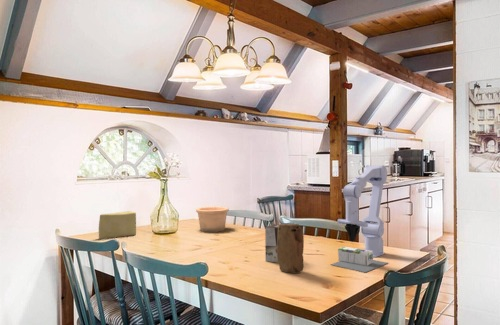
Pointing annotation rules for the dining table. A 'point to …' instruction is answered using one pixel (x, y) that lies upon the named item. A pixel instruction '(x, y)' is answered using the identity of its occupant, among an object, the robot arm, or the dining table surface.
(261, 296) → the dining table surface
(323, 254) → the dining table surface
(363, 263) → the syrup box
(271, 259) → the coffee box
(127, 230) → the cheese
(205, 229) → the pottery
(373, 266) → the mat
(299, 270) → the block
